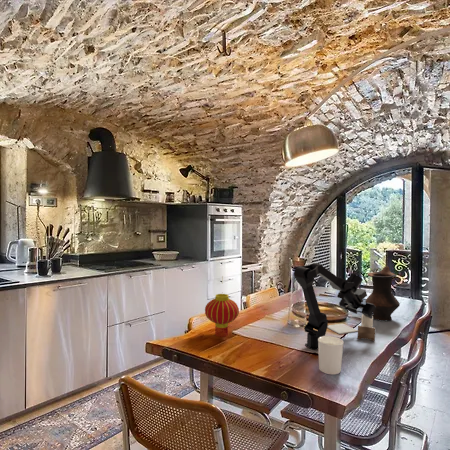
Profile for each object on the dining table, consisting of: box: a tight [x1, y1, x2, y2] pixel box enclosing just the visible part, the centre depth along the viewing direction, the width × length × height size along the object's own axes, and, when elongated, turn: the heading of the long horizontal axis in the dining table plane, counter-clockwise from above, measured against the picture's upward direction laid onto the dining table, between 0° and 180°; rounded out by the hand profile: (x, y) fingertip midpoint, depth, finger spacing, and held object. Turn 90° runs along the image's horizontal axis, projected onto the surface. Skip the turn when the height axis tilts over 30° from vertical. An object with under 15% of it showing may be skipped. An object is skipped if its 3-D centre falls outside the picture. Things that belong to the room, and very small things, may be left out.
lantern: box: [204, 275, 240, 337], centre depth 178 cm, size 17×17×30 cm
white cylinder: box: [317, 335, 345, 375], centre depth 141 cm, size 10×10×12 cm
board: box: [327, 323, 358, 335], centre depth 190 cm, size 12×12×1 cm
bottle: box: [360, 314, 374, 328], centre depth 183 cm, size 6×5×14 cm
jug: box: [365, 266, 400, 322], centre depth 209 cm, size 21×18×30 cm
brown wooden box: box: [357, 324, 376, 342], centre depth 176 cm, size 8×4×6 cm, turn 66°
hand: (364, 315), depth 181 cm, fingers open, 9 cm apart
